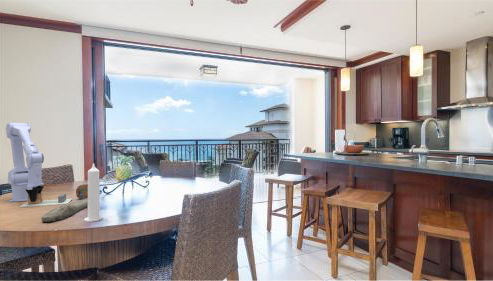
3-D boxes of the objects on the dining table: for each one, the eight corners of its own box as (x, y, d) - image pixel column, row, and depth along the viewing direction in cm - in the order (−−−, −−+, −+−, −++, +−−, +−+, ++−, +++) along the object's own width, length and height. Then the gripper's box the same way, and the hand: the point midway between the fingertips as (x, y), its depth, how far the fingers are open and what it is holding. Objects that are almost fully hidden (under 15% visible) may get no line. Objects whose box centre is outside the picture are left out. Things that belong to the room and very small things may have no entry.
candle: (89, 217, 123) (89, 162, 123) (105, 217, 124) (105, 162, 123) (81, 222, 116) (81, 163, 116) (98, 221, 117) (98, 164, 116)
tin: (79, 200, 155) (79, 185, 155) (74, 200, 156) (74, 185, 156) (98, 194, 170) (98, 181, 170) (94, 194, 171) (94, 181, 170)
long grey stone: (97, 205, 149) (78, 207, 148) (97, 196, 149) (78, 197, 149) (59, 222, 114) (34, 224, 113) (59, 209, 115) (34, 211, 114)
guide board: (29, 202, 150) (29, 194, 150) (73, 199, 157) (73, 192, 157) (19, 207, 139) (19, 199, 138) (67, 204, 146) (67, 196, 146)
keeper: (30, 202, 147) (30, 193, 147) (41, 201, 148) (41, 193, 148) (27, 203, 143) (27, 195, 143) (39, 203, 145) (39, 194, 145)
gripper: (38, 177, 140) (38, 203, 140) (48, 173, 154) (48, 197, 154) (22, 177, 138) (22, 204, 138) (33, 173, 151) (33, 198, 152)
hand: (35, 200), depth 146 cm, fingers closed on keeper, 4 cm apart
